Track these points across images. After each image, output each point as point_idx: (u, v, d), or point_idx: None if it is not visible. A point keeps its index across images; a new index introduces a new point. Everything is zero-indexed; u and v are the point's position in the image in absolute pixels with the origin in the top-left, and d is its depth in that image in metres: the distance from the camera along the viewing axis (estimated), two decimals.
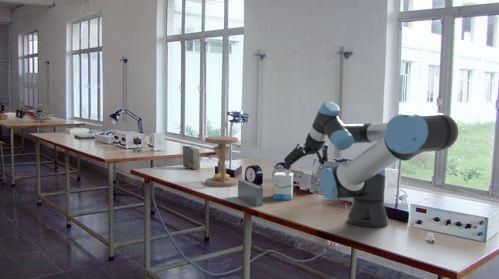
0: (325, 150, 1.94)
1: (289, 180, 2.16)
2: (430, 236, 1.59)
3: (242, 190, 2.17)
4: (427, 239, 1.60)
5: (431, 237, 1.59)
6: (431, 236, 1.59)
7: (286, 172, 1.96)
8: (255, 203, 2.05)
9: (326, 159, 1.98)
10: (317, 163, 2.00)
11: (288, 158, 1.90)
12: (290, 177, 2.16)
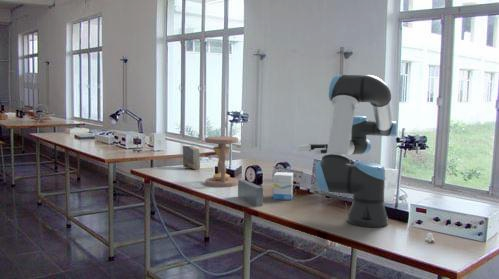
0: None
1: (289, 180, 2.16)
2: (430, 236, 1.59)
3: (242, 190, 2.17)
4: (427, 239, 1.60)
5: (431, 237, 1.59)
6: (431, 236, 1.59)
7: None
8: (255, 203, 2.05)
9: None
10: None
11: None
12: (290, 177, 2.16)
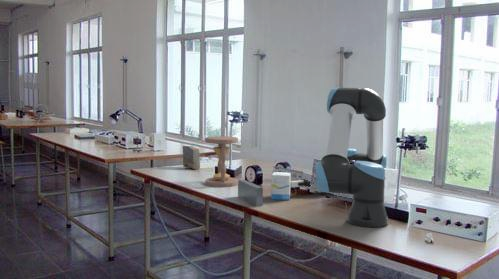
0: None
1: (287, 180, 2.15)
2: (429, 236, 1.59)
3: (242, 190, 2.17)
4: (426, 239, 1.59)
5: (430, 237, 1.59)
6: (430, 236, 1.59)
7: None
8: (255, 203, 2.05)
9: None
10: None
11: None
12: (288, 177, 2.15)
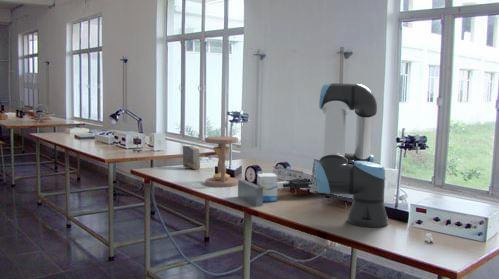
0: (308, 182, 2.21)
1: (275, 181, 2.13)
2: (428, 236, 1.59)
3: (242, 190, 2.17)
4: (425, 240, 1.59)
5: (429, 237, 1.59)
6: (429, 236, 1.59)
7: None
8: (255, 203, 2.05)
9: (295, 183, 2.20)
10: None
11: None
12: (276, 178, 2.13)
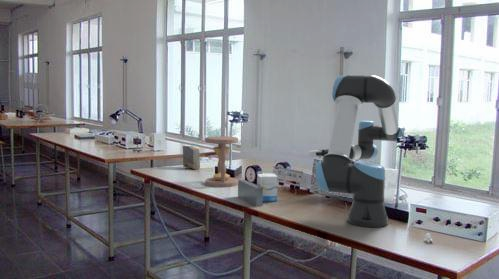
0: None
1: (275, 181, 2.13)
2: (428, 237, 1.58)
3: (242, 190, 2.17)
4: (425, 240, 1.59)
5: (429, 238, 1.58)
6: (429, 237, 1.58)
7: None
8: (255, 203, 2.05)
9: None
10: None
11: None
12: (276, 178, 2.13)
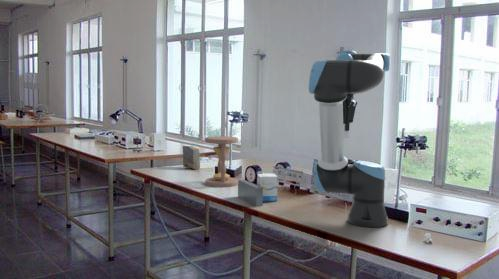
0: (350, 106, 2.06)
1: (275, 181, 2.13)
2: (427, 237, 1.58)
3: (242, 190, 2.17)
4: (424, 240, 1.59)
5: (428, 238, 1.58)
6: (428, 237, 1.58)
7: None
8: (255, 203, 2.05)
9: (348, 119, 2.08)
10: None
11: None
12: (276, 178, 2.13)
